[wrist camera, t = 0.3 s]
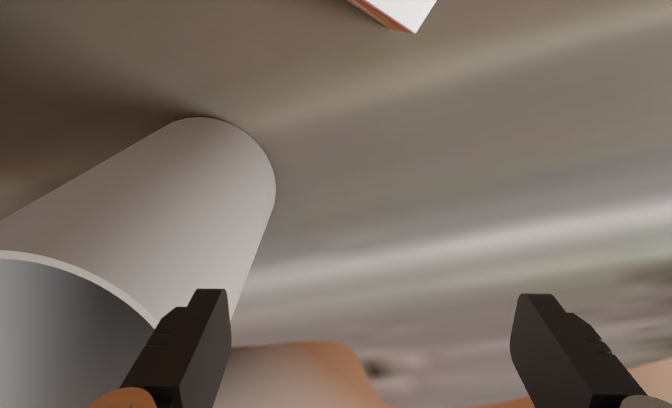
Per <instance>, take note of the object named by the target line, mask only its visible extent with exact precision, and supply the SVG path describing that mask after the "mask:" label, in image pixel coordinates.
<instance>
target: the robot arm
mask: <svg viewBox="0 0 672 408" xmlns="http://www.w3.org/2000/svg"><path fill="white" fill-rule="evenodd" d="M230 350H231V327H230V317H229V307H228V297H227V292H226V290H225V289H202V288H198V289H196V291H195V292H194V294H193V296H192V298H191V300H190V302H189V303H188V305H187V307H175V308H174V309H173V310H171V311H170V312H169V313H168V314H166V315H165V316H164V317H163V318H161V320H160V321H159V323H158V325H157V326H156V328H155V330H154V331H153V335H151V336H150V338H149V340H148V341H147V343H146V347H144V348H143V349H142V351H141V353H140V354H139V356H138V358H137V359H136V361H135V363H134V364H133V366H132V368H131V369H130V371H129V373H128V374H127V376H126V378H125V379H124V381H123V382H122V384H121V386H120V387H119V389H116V390H113V391H111V392H108V393H106V394H104V395H102V396H101V397H99V398H98V399H96V400H95V401H94V402H92V403H91V404H90V405H89V406H88V407H87V408H212V407H213V404H214V401H215V398H216V395H217V392H218V389H219V386H220V383H221V380H222V377H223V374H224V371H225V368H226V365H227V362H228V359H229V356H230ZM510 353H511V358H512V361H513V364H514V366H515V368H516V370H517V372H518V374H519V376H520V378H521V380H522V382H523V384H524V386H525V388H526V390H527V392H528V394H529V396H530V398H531V400H532V402H533V404H534V406H535V408H672V404H670V403H668V402H665V401H663V400H660V399H658V398H654V397H650V396H648V395H647V394H646V393H645V392H644V390H643V389H642V388H641V387H640V386H639V384H638V383H637V382H636V381H635V379H634V378H633V377H632V376H631V374H630V373H629V372H628V371H627V370H626V368H625V367H624V366H623V365H622V363H621V362H620V361H619V360H618V358H617V357H616V356H615V355H612V351H611V350H610V349H609V347H608V346H607V345H606V344H605V343H603V342H602V339H601V338H600V336H599V335H598V334H597V333H596V331H595V330H594V329H593V328H592V326H591V325H589V324H588V323H586V322H585V321H584V320H582V319H581V318H579V317H578V316H576V315H575V314H574V313H566V312H565V310H564V309H563V308H562V306H561V305H560V304H559V303H558V301H557V300H556V299H555V297H554V296H553V295H551V294H521V295H520V296H519V298H518V301H517V307H516V312H515V317H514V322H513V327H512V332H511V338H510Z"/></svg>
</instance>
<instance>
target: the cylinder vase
mask: <svg viewBox="0 0 672 408" xmlns="http://www.w3.org/2000/svg"><path fill="white" fill-rule="evenodd" d="M275 196H276V184H275V177H274V173H273V169H272V167H271V164H270V162H269V160H268V158H267V156H266V154H265V153H264V151H263V150H262V149H261V147H260V146H259V145H258V144H257V143H256V142H255V141H254V140H253V139H252V138H251V137H250V136H249V135H248V134H246V133H245V132H244V131H242V130H241V129H239V128H237V127H236V126H234V125H232V124H229V123H227V122H224V121H221V120H217V119H213V118H206V117H193V118H185V119H181V120H178V121H175V122H172V123H170V124H168V125H166V126H164V127H163V128H161V129H159V130H157V131H156V132H154V133H152V134H150V135H149V136H147V137H145V138H143V139H142V140H140V141H138V142H136V143H135V144H133V145H131V146H130V147H128V148H126V149H124V150H123V151H121V152H119V153H117V154H116V155H114V156H112V157H110V158H109V159H107V160H105V161H103V162H102V163H100V164H98V165H97V166H95V167H93V168H91V169H90V170H88V171H86V172H84V173H83V174H81V175H79V176H77V177H76V178H74V179H72V180H70V181H69V182H67V183H65V184H63V185H62V186H60V187H58V188H57V189H55V190H53V191H51V192H50V193H48V194H46V195H44V196H43V197H41V198H39V199H37V200H36V201H34V202H32V203H30V204H29V205H27V206H25V207H23V208H22V209H20V210H18V211H17V212H15V213H13V214H11V215H10V216H8V217H6V218H4V219H3V220H1V221H0V408H87V407H88V406H89V405H90V404H91V403H92V402H94V401H95V400H96V399H98V398H99V397H101V396H102V395H104V394H106V393H108V392H111V391H113V390H116V389H119V387H120V386H121V384H122V382H123V381H124V379H125V378H126V376H127V374H128V373H129V371H130V369H131V368H132V366H133V364H134V363H135V361H136V359H137V358H138V356H139V354H140V353H141V351H142V349H143V348H144V347H146V343H147V341H148V340H149V338H150V336H151V335H153V331H154V330H155V328H156V326H157V325H158V323H159V321H160V320H161V318H163V317H164V316H165V315H166V314H168V313H169V312H170V311H171V310H173V309H174V308H175V307H187V305H188V303H189V302H190V300H191V298H192V296H193V294H194V292H195V291H196V289H198V288H202V289H225V290H226V292H227V297H228V307H229V317H230V321H231V319H232V316H233V313H234V311H235V308H236V305H237V303H238V300H239V297H240V295H241V292H242V289H243V287H244V284H245V281H246V279H247V276H248V273H249V271H250V268H251V265H252V263H253V260H254V257H255V255H256V252H257V249H258V247H259V244H260V241H261V239H262V236H263V233H264V231H265V228H266V225H267V223H268V220H269V217H270V215H271V212H272V209H273V206H274V202H275Z"/></svg>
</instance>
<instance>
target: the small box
mask: <svg viewBox="0 0 672 408" xmlns="http://www.w3.org/2000/svg"><path fill="white" fill-rule="evenodd" d="M347 1H349V2H350V3H352V4H353V5H355V6H356V7H358V8H359V9H360V10H362V11H363V12H365V13H366V14H368V15H370V16H371V17H373V18H374V19H376V20H377V21H378V22H380V23H381V24H383V25H384V26H386V27H387V28H389V29H392V30H398V31H404V32H409V33H413V34H415V33H416V32H417V31H418V29H419V27H420V26H421V24H422V23H423V21H424V20H425V18H426V16H427V15H428V13H429V12H430V10H431V9H432V7H433V5H434V4H435V2H436V1H437V0H347Z"/></svg>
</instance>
